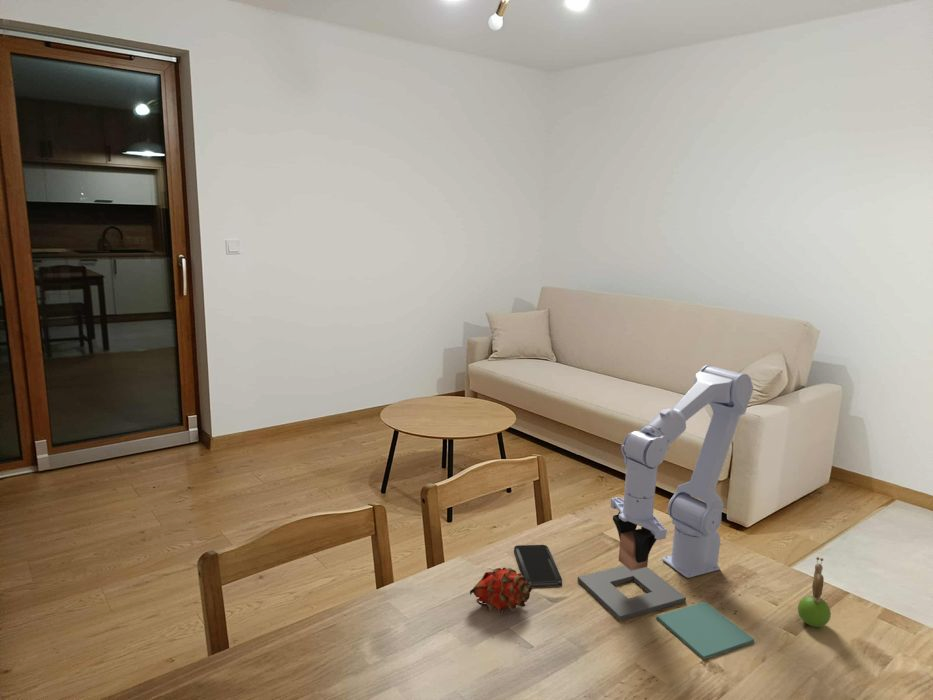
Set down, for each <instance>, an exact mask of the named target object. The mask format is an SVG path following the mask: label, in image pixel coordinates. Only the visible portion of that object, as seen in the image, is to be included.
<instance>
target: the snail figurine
mask: <svg viewBox="0 0 933 700" xmlns="http://www.w3.org/2000/svg"><path fill="white" fill-rule="evenodd" d="M815 559H816V564H815V565H814V574H813V580H812V589H811V591H812V595H807V596H803V598H801V599H800V600H799V601H798V604H797V612H798V615H799V617H800V619H801V620H802V621H803V622H804V623H805V624H807V625H808V626H810V627H814V628H820V627H824V626H825V625H827V624H828V623H829V621H830V620H831V616H832V613H831V608H830V606H829V604H828V603H827V602H826V601H825V600H824V599H823V598H821V597H822V595H823V588H824V580H825V579H824V576H823V575H822V571H823V565H822V563H823V562H822V561H824V558H823V557H817V556H816V558H815ZM819 560H820V563H818V561H819Z"/></svg>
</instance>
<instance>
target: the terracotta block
mask: <svg viewBox="0 0 933 700" xmlns="http://www.w3.org/2000/svg"><path fill="white" fill-rule="evenodd" d="M635 555H636V545H635V539H634V535H633V533H632V531H630V532H625V533H621V537H620V538H619V550H618V561H619V562H620V564H622V566H623V565H625V566H626V567H627V568H628V569H629V570H631V571H633V570H636V569H640V568H644V567H648V566H649V565H648V563H649V557H648V558H647V560H646V561H645V562H641V563H638V562H637V561H636V556H635Z"/></svg>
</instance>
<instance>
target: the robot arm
mask: <svg viewBox="0 0 933 700" xmlns="http://www.w3.org/2000/svg"><path fill="white" fill-rule="evenodd" d="M693 380H694V381H693V385H692V386H691V388H690V389H689V390H688V391H687V392H686V393H685V394H684V395H683V396H682V398H681V399H679V401H678V402H676V404H675V405H674V406H673V408H663V409H662V410H661V411H660V412H659V413H658V414H657V415H655V416H654V417H653V418H652V419H651V420H650V421H649V422H648V423H647V424H646V425H644V426H643V428H641V429H640V430H634V431H632V432H629V433H628V434H627V435H626V436H625V438H624V440H623V443H622V445H621V447H620V450H621V454H622V456H623V458H624V461H623V462H624V463H623V464H624V466H625V468H626V471H625V480H624V481H625V482H624V492H623V494H624V495H623V498H622V497H620V496H617V497H612V498H610V508H611V509H614V510H615V509H616V510H617V511H618V513H617V514H615V515H612V521H613V523H614V525H615V527H616V530H617V533H618V538H619V539H620V537H621V533H625V532H630V531H632V533H633V535H634V539H635V545H636V555H635V556H636V561H637V562H638V563H641V562H645V561H646V560H647V558H648V559H649V555H650V552H651V550H652V549H653V546H654V545H655V543H656V542H657V541H659V540H661V541H662V540H665V539H667V530H668V529H667V528H666V527H664V526H663V524H661V522H660V520H659V519H658V518H657V517H656V515H655V514H654V504H655V494H656V486H657V485H656V484H657V475H658V466H659V465H661V464H662V463H663V462H664V460H665V458H666V455H667V453H668V451H669V449H670V445H671V444H673V443H674V442H675V441H676V440H677V439H678V438H679V437H680V436H681V435H682V434H684V432H685V431H686V429H687V422H686V421H688V420H690V419H691V418H692V417H693V416H694V415H696V414H697V413H698V412H699V411H701V410H702V409H703V408H705V406H707V405H710V408H711V410H712V416H711V419H710V422H709V425H708V428H707V431H706V434H705V437H704V440H703V443H702V446H701V447H700V451H699V454H698V457H697V460H696V463H695V466H694V469H693V471H692V474H691V477H690V480H689V481H687V482H684V483H681V484H678V485H677V487H676V490H675V492H674V494H673V495H672V497H671V498H670V499H669V502H668V505H667V515H668V516H669V517H670V518H671V519H672V521H671V524H672V525H673V526H674V532H673V539H672V540H673V541H672V547H671V548H672V550H671V555H668V556H663V557H662V559H661V560H662V561H664V562H665V563H666V564H667V565H668V566H670V567H671V568H673V569H674V570H676V571H677V572H678V573H680V574H681V575H682V576H683V577H685V578H687V579H689V578H693V577H697V576H700V575H704V574H709V573H711V572H715V571H719V570H721V566H720V565H718V563H719V554H720V546H721V537H720V533H719V531H718V530H719V528H720V525H721V523H722V513H723V508H724V502H723V500H722V499H721V497H720V495H719V494H718V492H717V491H716V488H717V485H718V482H719V479H720V477H721V473H722V470H723V467H724V463H725V462H726V458H727V455H728V452H729V450H730V447H731V444H732V440H733V438H734V434H735V432H736V429H737V428H738V427H737V426H738V423H739V421H740V417H741V416H742V415H745V414H746V412H747V408H748V406H749V403H750V400H751V397H752V394H753V391H754V386H753V382H752V379H751V376H750V375H749V374H747V373H742V372H736V371H733V370H728V369H725V368H721V367H716V366H713V365H711V364H705V365H704V366H702V367H701V368H700V370H698V372H696V373H695V376H694V379H693ZM637 526H639V527H641V528H638V527H637Z"/></svg>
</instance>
